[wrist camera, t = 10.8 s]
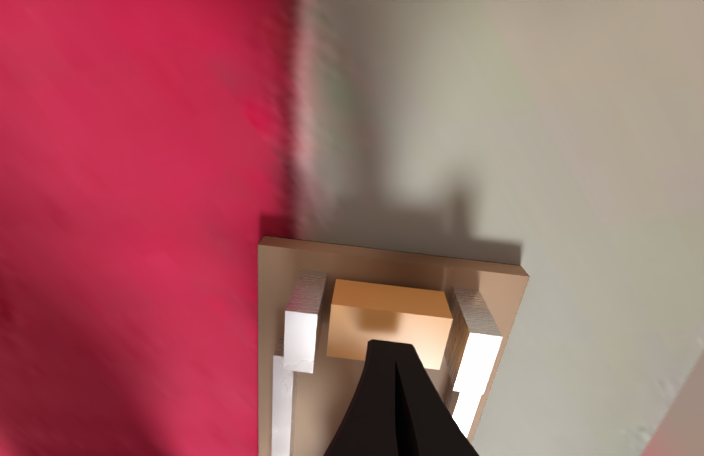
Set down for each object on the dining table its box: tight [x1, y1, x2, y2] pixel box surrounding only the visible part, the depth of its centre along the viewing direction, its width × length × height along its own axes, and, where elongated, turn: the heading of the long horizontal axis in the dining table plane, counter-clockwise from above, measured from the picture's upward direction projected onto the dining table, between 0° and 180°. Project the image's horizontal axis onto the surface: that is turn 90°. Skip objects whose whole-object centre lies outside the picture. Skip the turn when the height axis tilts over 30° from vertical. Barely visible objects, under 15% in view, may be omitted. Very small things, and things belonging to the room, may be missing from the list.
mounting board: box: [258, 236, 530, 456], centre depth 16 cm, size 10×15×1 cm, turn 174°
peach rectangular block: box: [326, 279, 453, 370], centre depth 13 cm, size 4×2×2 cm, turn 84°
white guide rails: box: [271, 269, 503, 456], centre depth 15 cm, size 8×14×3 cm, turn 174°
